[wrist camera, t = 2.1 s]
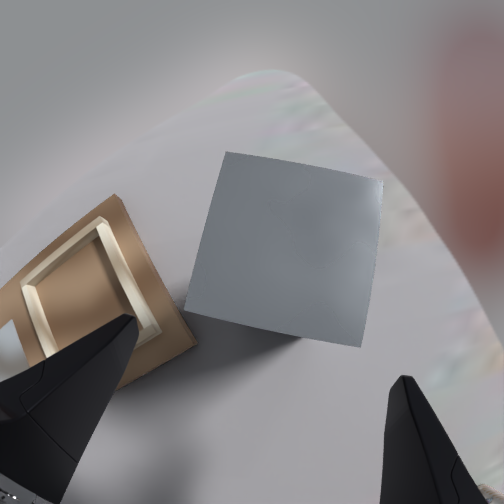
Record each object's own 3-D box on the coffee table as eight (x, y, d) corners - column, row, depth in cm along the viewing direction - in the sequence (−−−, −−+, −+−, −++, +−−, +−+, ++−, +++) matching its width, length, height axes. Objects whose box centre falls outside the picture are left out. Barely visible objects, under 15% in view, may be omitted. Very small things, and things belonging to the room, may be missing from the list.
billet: (309, 333, 20) (360, 347, 7) (240, 319, 21) (183, 310, 8) (323, 265, 21) (383, 181, 8) (256, 252, 21) (226, 151, 9)
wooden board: (198, 343, 20) (188, 345, 18) (10, 444, 19) (-6, 449, 17) (121, 199, 23) (107, 187, 21) (-33, 333, 22) (-49, 332, 20)
